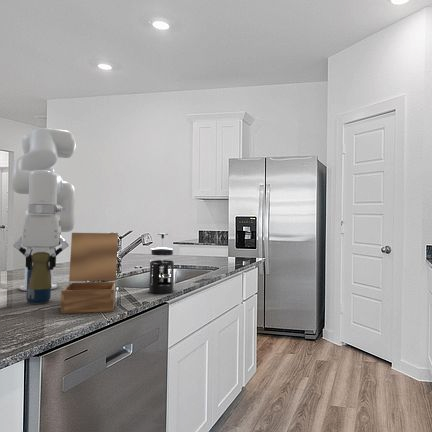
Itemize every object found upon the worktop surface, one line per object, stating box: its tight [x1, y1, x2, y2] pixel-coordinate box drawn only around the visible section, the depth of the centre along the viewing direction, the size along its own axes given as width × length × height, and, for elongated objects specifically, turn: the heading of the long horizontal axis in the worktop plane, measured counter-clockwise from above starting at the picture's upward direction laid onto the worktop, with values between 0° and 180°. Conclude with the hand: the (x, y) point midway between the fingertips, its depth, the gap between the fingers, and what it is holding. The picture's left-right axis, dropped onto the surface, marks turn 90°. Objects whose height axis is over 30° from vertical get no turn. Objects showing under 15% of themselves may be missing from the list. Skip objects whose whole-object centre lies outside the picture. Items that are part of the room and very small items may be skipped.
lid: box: [68, 232, 119, 282], centre depth 147 cm, size 16×15×1 cm
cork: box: [29, 252, 51, 290], centre depth 132 cm, size 6×6×11 cm
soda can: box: [26, 267, 52, 305], centre depth 143 cm, size 7×7×12 cm
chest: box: [60, 281, 117, 315], centre depth 138 cm, size 16×15×7 cm
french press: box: [148, 232, 175, 295], centre depth 167 cm, size 12×9×23 cm
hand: (40, 268), depth 132 cm, fingers closed on cork, 5 cm apart
